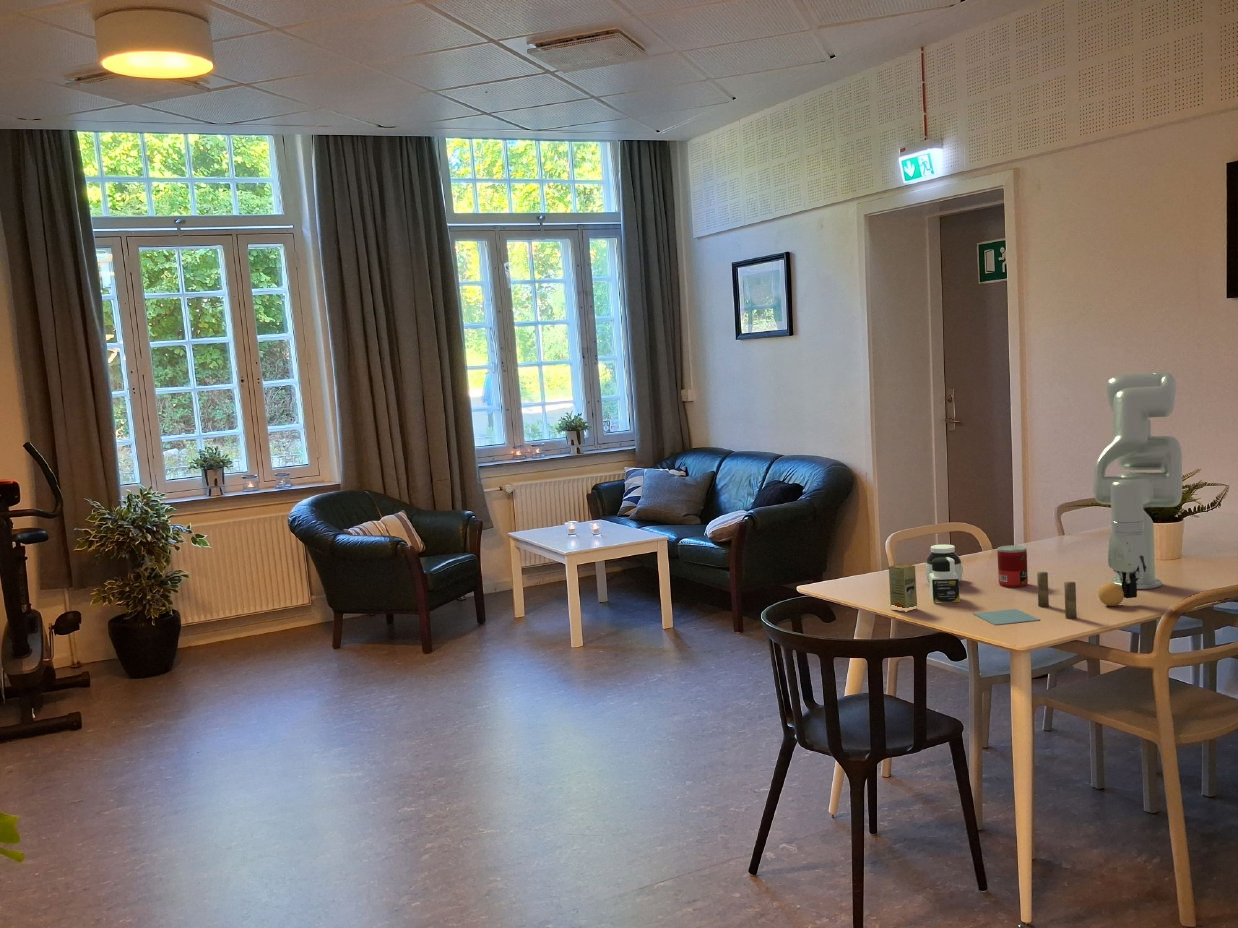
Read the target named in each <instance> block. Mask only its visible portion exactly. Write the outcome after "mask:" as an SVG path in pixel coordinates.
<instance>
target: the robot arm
mask: <svg viewBox="0 0 1238 928" xmlns="http://www.w3.org/2000/svg"><path fill="white" fill-rule="evenodd" d="M1175 379H1176V378H1175V377H1174V375H1173V374H1172V373H1170V372H1151V373H1150V372H1148V373H1147V372H1146V373H1145V372H1144V373H1130V374H1129V373H1127V374H1119V375H1116V376H1113V377H1111V378H1109V379H1108V380H1107V382H1106V386H1105V387H1106V395H1107V400H1108V403H1109V404H1108V405H1109V407H1110V410H1111V411H1112V440H1111V442H1110V443H1109V444H1107V446H1106V447H1105V448H1104V449H1103V450H1102V451H1101V452H1100V453H1099V455H1098V457H1097V459H1096V460H1095V463H1094V468H1093V485H1092V486H1093V488H1092V490H1093V498H1094V500H1095V501H1096V502H1097V503H1099V504H1101V505H1110V517H1111V521H1110V522H1111V524H1110V525H1111V531H1110V532H1109V533H1110V534H1109V537H1108V538H1109V539H1108V546H1107V547H1108V551H1107V562H1108V563H1107V564H1108V565H1107V566H1108V567H1109V568H1110V569H1111V571H1112V572H1113V573H1115V577H1112V578H1111V580H1110V583H1114V584H1117V585H1119V586H1120V587H1121V588H1122V590H1123V592H1124V598H1123V599H1133V598H1137V597H1138V590H1147V589H1148V590H1149V589H1156V588H1159V587H1161V586H1162V580H1161V579H1159V578H1157V577H1156V570H1155V569H1156V566H1155V561H1156V560H1155V529H1154V528H1155V527H1154V521H1153V520H1152V517H1151V516H1150V515H1149V514H1148V513H1147V511H1145V510H1144V508H1171V507H1172V508H1173V507H1177V506H1178V505H1179V504H1180V503H1181V502H1182V498H1183V455H1182V447H1181V443H1180V441H1179V440H1178V438H1176V437H1174V436H1169V435H1155V436H1154V435H1152V421H1151V419H1150V418H1166V417H1169V416H1171V415H1172V413H1173V411H1174V409H1175V402H1176V392H1177V384H1176V380H1175ZM1116 460H1117V462H1118V465H1119V467H1120V468H1121V469H1124V470H1127V471H1144V472H1125V473H1124V472H1123V473H1119V474H1117V475H1116V476H1115V475H1113V476H1112V475H1111V476H1110V475H1109V476H1106V471H1107V469H1108V467H1109V466H1110V465H1111V464H1112V463H1113V462H1115V461H1116ZM1145 471H1161V472H1145Z"/></svg>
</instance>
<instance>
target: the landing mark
mask: <svg viewBox="0 0 1238 928" xmlns="http://www.w3.org/2000/svg"><path fill="white" fill-rule="evenodd" d="M972 615H973V616H976V617H978V618H980V619H982V620H984V621H986V622H987V623H989V624H992V625H994V626H1000V625H1010V624H1018V623H1027V622H1026V621H1029V622H1035V621H1041V619H1040V618H1037V617H1035V616H1033V615H1030V614H1029V613H1026V612H1024V611H1023V610H1020V609H1018V608H1012V609H1011V608H1010V609H1003V610H1002V609H1000V610H994V611H993V610H992V611H984V612H983V611H982V612H976V613H975V612H974V613H972Z"/></svg>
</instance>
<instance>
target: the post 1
mask: <svg viewBox="0 0 1238 928" xmlns="http://www.w3.org/2000/svg"><path fill="white" fill-rule="evenodd" d="M1048 577H1049V574H1048V572H1046V571H1038V572H1036V579H1037V581H1036V582H1037V600H1038V601H1037V605H1038V607H1040V608H1048V607H1050V602H1049V601H1050V599H1049V597H1050V596H1049V578H1048Z"/></svg>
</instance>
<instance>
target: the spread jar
mask: <svg viewBox="0 0 1238 928" xmlns="http://www.w3.org/2000/svg"><path fill="white" fill-rule="evenodd" d="M955 548H956V547H955V545H953V544H935V545H931V546H930V553H929V554H928V556H927V557H926V559H925V576H926V580H927V582H928V583H929V584H930V581H929V574H930V573H932V560H933V559H935V558H938V557H949V558H952V559H954V562H955V573H956V575H957V576H958V578H959V584H960V583H961V581H962V580H963V573H964V572H963V571H964V567H963V565H962V564H963V563H962V561H961V557H960V556H959V555H958V554H957V553H956V552H955V551H956V550H955Z"/></svg>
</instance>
